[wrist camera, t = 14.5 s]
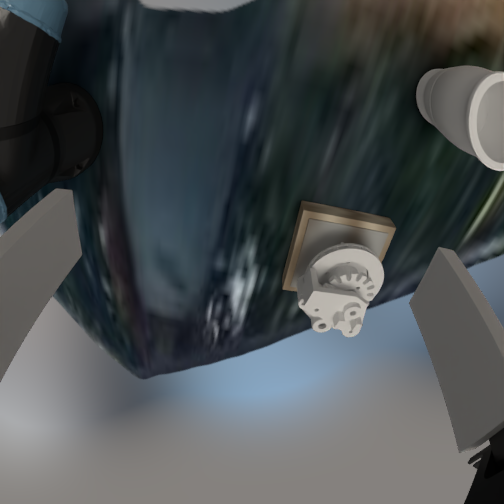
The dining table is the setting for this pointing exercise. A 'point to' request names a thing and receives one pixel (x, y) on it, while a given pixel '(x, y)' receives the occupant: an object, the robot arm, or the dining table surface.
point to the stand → (332, 236)
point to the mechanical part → (340, 287)
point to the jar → (466, 109)
